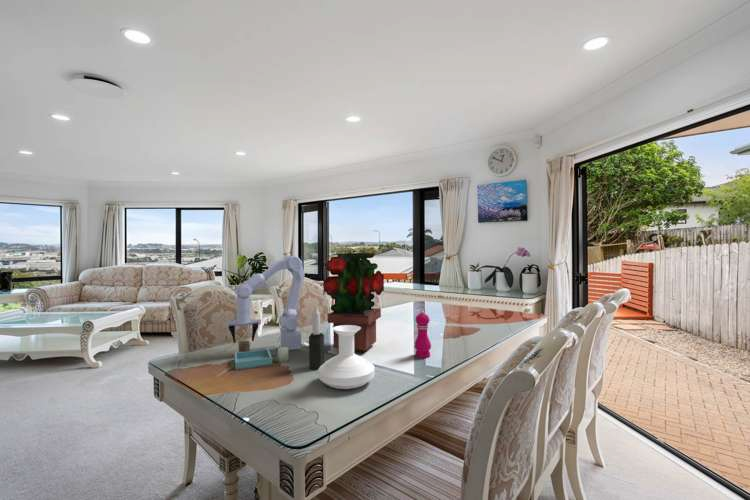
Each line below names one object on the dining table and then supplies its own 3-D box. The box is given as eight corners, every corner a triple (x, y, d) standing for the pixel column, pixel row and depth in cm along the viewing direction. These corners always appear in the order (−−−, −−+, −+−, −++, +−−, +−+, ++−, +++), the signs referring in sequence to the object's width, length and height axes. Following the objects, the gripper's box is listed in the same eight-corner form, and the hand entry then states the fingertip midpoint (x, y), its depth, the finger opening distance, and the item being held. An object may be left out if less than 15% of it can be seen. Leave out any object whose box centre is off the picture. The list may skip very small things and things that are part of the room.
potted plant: (324, 353, 158) (323, 254, 158) (342, 340, 180) (341, 253, 179) (370, 357, 152) (369, 253, 152) (384, 343, 173) (383, 252, 173)
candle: (320, 369, 137) (319, 306, 137) (308, 369, 138) (307, 305, 138) (325, 365, 142) (324, 304, 142) (313, 364, 143) (312, 303, 143)
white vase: (346, 368, 138) (345, 320, 138) (386, 380, 125) (385, 326, 125) (306, 384, 123) (305, 329, 123) (347, 399, 110) (347, 338, 110)
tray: (268, 355, 156) (268, 348, 156) (272, 365, 143) (272, 357, 143) (234, 359, 151) (234, 352, 150) (235, 370, 138) (235, 362, 138)
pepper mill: (430, 353, 157) (430, 308, 157) (431, 358, 150) (431, 311, 149) (414, 353, 157) (414, 308, 157) (414, 358, 150) (414, 311, 150)
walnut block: (249, 353, 160) (249, 340, 160) (249, 356, 155) (249, 342, 155) (238, 354, 158) (238, 341, 158) (238, 357, 154) (238, 344, 154)
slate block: (274, 352, 161) (274, 346, 161) (275, 355, 157) (275, 348, 157) (265, 353, 159) (265, 347, 159) (266, 356, 156) (266, 349, 156)
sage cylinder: (287, 357, 153) (287, 346, 153) (289, 360, 148) (289, 349, 148) (277, 359, 151) (276, 347, 151) (278, 362, 147) (278, 350, 147)
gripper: (259, 308, 163) (260, 337, 163) (225, 310, 157) (226, 341, 157) (261, 311, 157) (261, 341, 157) (225, 313, 151) (226, 345, 151)
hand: (243, 341), depth 157 cm, fingers open, 7 cm apart
